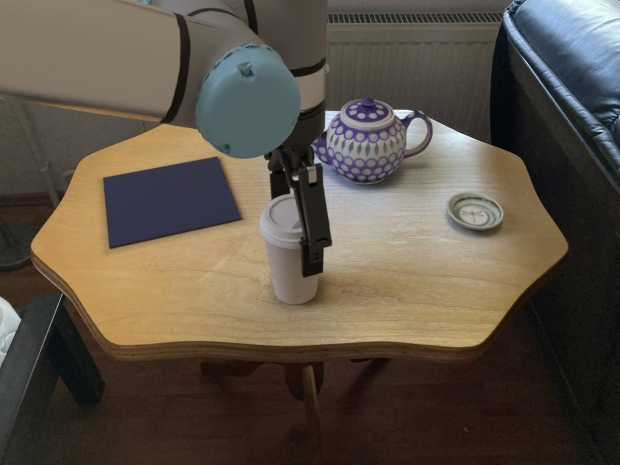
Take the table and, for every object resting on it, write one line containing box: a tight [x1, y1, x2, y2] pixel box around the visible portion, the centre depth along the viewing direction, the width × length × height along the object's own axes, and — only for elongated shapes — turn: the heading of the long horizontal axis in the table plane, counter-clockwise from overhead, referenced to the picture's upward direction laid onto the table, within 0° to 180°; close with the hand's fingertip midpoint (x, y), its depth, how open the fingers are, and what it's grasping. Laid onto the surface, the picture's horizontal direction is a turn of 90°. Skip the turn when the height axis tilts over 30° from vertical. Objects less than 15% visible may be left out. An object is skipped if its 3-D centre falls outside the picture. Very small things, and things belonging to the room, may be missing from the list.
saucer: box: [445, 191, 505, 231], centre depth 88 cm, size 10×10×2 cm
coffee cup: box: [258, 193, 331, 305], centre depth 72 cm, size 10×10×15 cm
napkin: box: [102, 155, 242, 249], centre depth 93 cm, size 22×20×1 cm
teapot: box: [311, 96, 434, 185], centre depth 95 cm, size 25×15×15 cm, turn 90°
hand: (295, 239), depth 71 cm, fingers open, 13 cm apart
